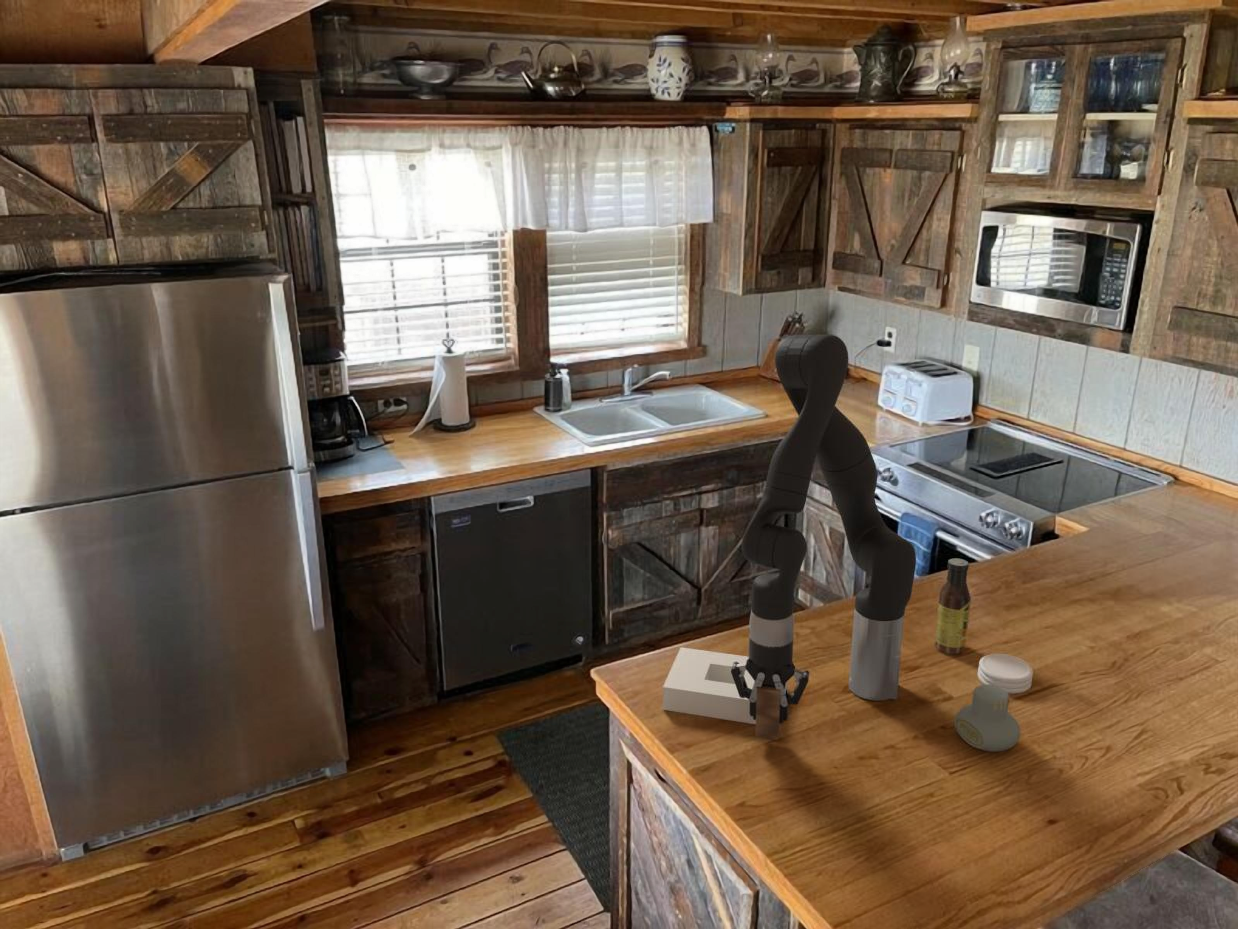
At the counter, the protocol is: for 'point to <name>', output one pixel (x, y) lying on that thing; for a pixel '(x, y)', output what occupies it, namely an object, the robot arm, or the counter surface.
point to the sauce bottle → (953, 609)
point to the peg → (768, 713)
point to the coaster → (1005, 672)
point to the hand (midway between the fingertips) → (768, 718)
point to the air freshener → (988, 720)
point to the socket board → (706, 686)
